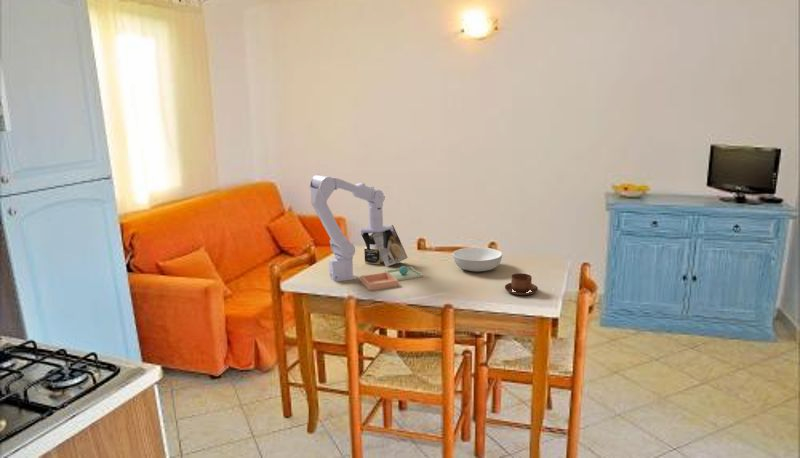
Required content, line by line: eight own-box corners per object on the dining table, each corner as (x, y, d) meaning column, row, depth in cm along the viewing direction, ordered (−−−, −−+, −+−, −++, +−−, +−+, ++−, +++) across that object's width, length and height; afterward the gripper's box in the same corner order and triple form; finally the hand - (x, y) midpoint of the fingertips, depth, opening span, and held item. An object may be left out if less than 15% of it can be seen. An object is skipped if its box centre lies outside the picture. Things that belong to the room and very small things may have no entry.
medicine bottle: (364, 263, 245) (363, 237, 243) (370, 258, 252) (369, 233, 249) (379, 264, 243) (378, 238, 241) (384, 259, 250) (384, 234, 247)
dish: (369, 291, 210) (369, 284, 209) (360, 282, 221) (360, 275, 220) (398, 287, 214) (397, 280, 214) (387, 278, 225) (387, 271, 224)
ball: (401, 276, 225) (401, 267, 224) (397, 273, 228) (397, 265, 227) (409, 275, 226) (409, 266, 225) (406, 272, 230) (406, 264, 229)
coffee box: (398, 262, 246) (384, 229, 247) (408, 257, 242) (393, 224, 243) (385, 267, 239) (370, 234, 240) (395, 262, 235) (380, 228, 236)
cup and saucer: (543, 291, 207) (544, 275, 205) (527, 300, 198) (527, 284, 197) (515, 284, 214) (515, 269, 213) (498, 293, 206) (499, 277, 204)
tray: (395, 282, 220) (395, 278, 220) (384, 273, 231) (384, 270, 230) (422, 277, 224) (422, 274, 224) (411, 269, 235) (410, 266, 235)
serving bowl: (499, 261, 244) (500, 246, 242) (503, 276, 224) (504, 260, 222) (452, 261, 246) (452, 246, 244) (452, 276, 226) (452, 260, 224)
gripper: (362, 221, 224) (363, 253, 227) (395, 217, 229) (396, 249, 233) (357, 218, 230) (358, 249, 234) (389, 214, 236) (390, 245, 239)
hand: (376, 248), depth 234 cm, fingers open, 7 cm apart
